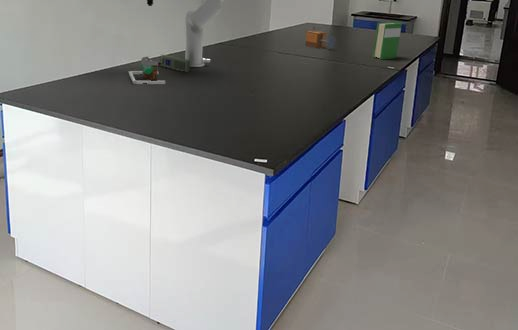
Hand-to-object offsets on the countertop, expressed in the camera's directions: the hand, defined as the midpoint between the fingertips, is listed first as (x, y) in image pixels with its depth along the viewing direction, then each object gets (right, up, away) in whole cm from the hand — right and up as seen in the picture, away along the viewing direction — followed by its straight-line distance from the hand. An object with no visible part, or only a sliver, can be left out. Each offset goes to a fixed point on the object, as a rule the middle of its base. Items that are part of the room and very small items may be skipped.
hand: (150, 5), depth 306 cm
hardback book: (+148, -11, +93) cm, 175 cm away
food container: (+3, -43, -21) cm, 48 cm away
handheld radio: (+10, -33, +8) cm, 35 cm away
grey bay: (+3, -43, -21) cm, 48 cm away
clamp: (+104, +1, +114) cm, 155 cm away
